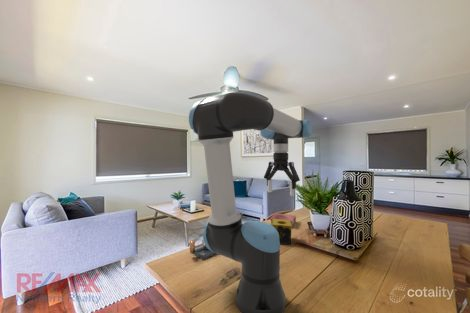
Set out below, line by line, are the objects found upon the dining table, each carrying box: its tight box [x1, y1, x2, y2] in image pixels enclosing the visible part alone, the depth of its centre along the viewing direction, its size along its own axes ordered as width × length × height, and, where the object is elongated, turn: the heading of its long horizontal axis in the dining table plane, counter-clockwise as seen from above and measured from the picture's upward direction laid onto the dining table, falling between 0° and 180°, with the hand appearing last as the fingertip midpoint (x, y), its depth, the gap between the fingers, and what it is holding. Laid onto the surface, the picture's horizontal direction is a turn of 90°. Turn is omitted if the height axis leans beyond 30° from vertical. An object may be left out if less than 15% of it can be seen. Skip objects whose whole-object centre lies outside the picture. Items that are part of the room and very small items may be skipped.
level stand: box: [191, 243, 217, 260], centre depth 101 cm, size 24×10×9 cm, turn 134°
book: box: [269, 212, 297, 230], centre depth 138 cm, size 14×15×5 cm
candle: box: [272, 219, 292, 246], centre depth 111 cm, size 10×10×10 cm
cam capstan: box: [189, 239, 208, 254], centre depth 96 cm, size 15×6×5 cm, turn 134°
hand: (280, 193), depth 105 cm, fingers open, 13 cm apart
